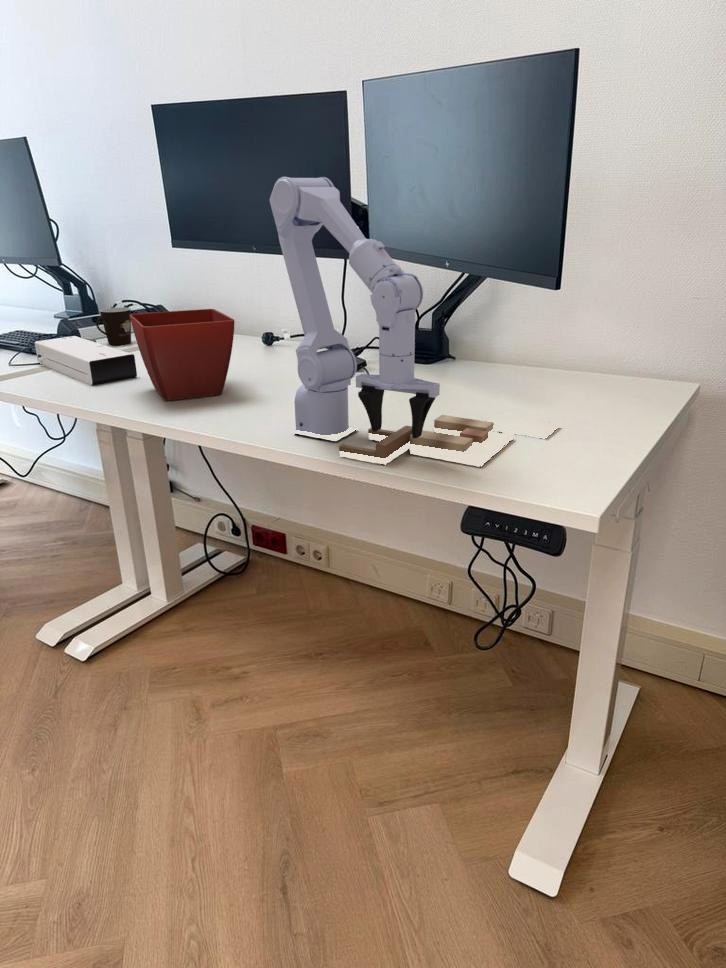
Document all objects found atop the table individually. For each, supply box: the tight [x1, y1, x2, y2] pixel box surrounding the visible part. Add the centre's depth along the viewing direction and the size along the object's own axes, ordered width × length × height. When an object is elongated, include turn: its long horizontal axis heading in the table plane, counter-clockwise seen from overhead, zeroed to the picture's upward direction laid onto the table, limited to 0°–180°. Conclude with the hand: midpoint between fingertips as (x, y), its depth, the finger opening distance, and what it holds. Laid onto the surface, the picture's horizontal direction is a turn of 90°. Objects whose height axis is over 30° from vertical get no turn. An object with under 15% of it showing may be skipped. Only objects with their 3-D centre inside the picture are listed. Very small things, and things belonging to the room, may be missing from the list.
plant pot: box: [130, 308, 235, 402], centre depth 156 cm, size 19×19×17 cm
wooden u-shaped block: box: [410, 414, 494, 452], centre depth 123 cm, size 14×16×3 cm
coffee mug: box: [95, 307, 132, 347], centre depth 208 cm, size 12×9×10 cm
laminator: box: [34, 335, 138, 386], centre depth 178 cm, size 34×12×6 cm, turn 44°
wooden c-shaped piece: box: [338, 425, 412, 458], centre depth 121 cm, size 9×11×4 cm
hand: (396, 433), depth 119 cm, fingers open, 7 cm apart
